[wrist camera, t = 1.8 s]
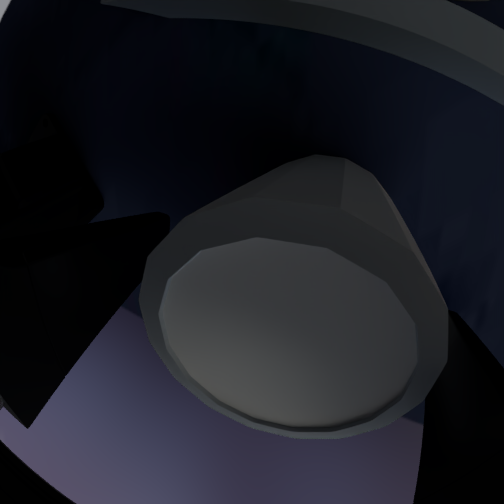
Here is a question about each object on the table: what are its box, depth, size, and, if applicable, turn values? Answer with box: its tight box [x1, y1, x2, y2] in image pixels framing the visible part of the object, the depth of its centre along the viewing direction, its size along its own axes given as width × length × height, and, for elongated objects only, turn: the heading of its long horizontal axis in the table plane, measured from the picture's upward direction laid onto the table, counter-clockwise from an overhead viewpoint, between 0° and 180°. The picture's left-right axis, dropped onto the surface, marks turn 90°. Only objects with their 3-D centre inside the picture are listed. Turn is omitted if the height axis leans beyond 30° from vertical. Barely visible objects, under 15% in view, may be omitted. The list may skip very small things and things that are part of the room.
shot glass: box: [139, 154, 448, 439], centre depth 9 cm, size 7×7×7 cm
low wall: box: [100, 0, 504, 106], centre depth 6 cm, size 16×1×4 cm, turn 77°
